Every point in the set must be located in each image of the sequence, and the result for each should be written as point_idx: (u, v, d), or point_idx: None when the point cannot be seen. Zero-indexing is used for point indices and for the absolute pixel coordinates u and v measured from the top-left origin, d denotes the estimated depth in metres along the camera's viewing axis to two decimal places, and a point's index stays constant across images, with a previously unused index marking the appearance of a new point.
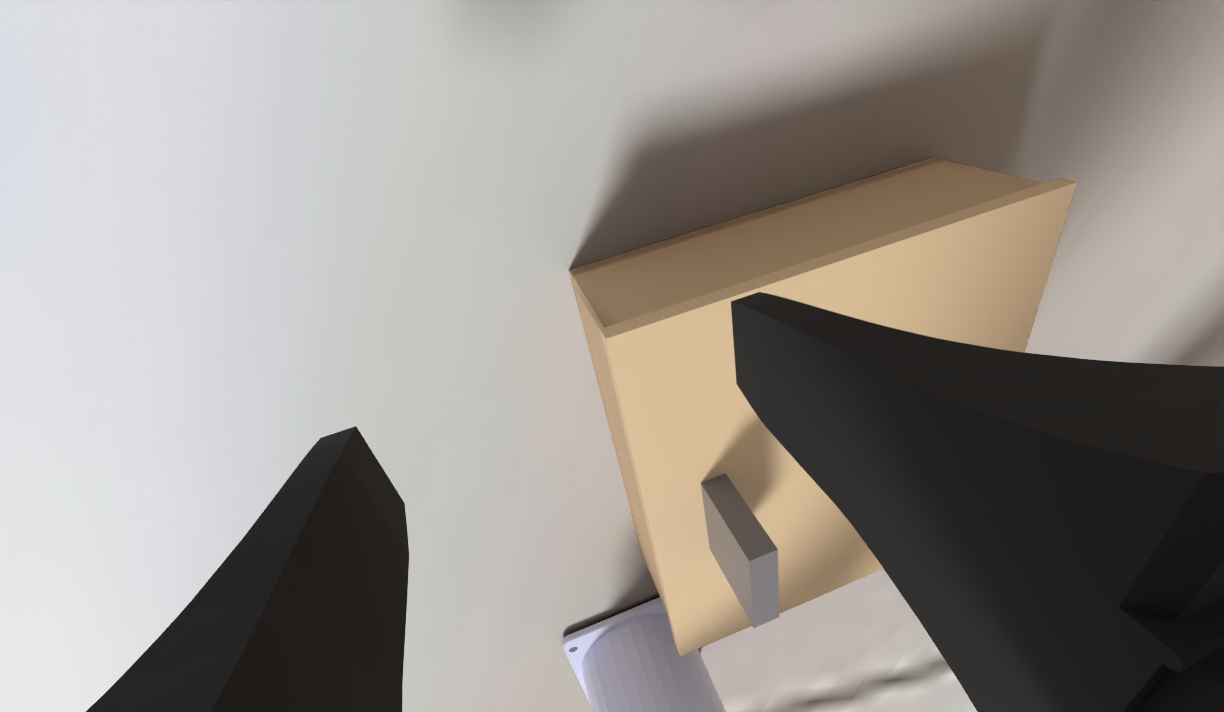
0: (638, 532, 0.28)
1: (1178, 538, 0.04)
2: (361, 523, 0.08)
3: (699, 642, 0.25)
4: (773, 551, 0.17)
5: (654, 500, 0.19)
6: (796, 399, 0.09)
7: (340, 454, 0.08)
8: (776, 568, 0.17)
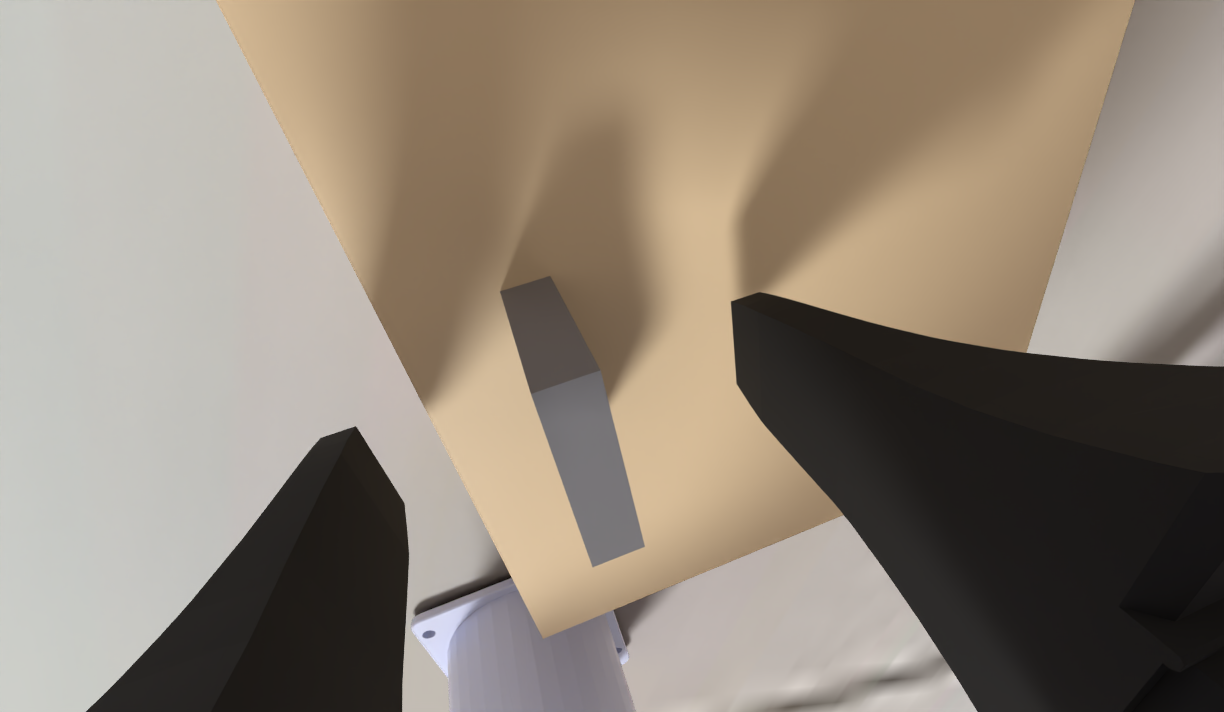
0: None
1: (1178, 538, 0.04)
2: (361, 523, 0.08)
3: (571, 616, 0.16)
4: (590, 375, 0.07)
5: (404, 320, 0.10)
6: (795, 398, 0.09)
7: (340, 454, 0.08)
8: (609, 424, 0.08)
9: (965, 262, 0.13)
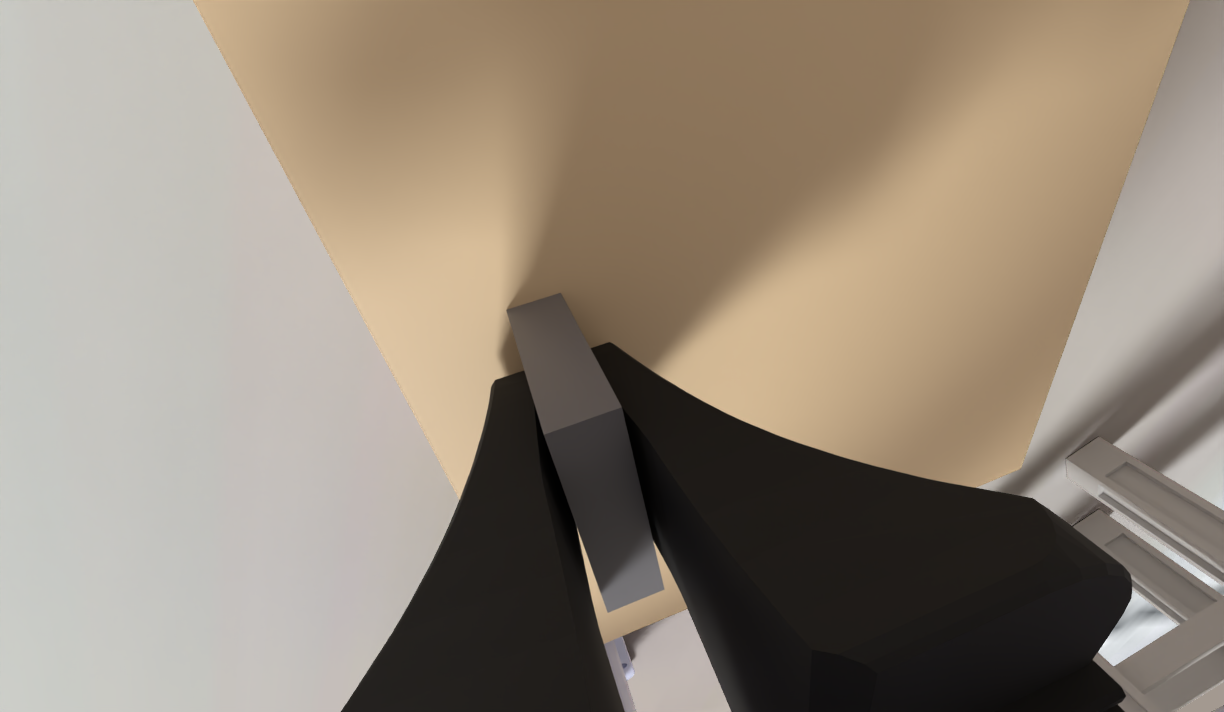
0: None
1: (820, 704, 0.03)
2: None
3: None
4: (610, 412, 0.06)
5: (402, 342, 0.09)
6: None
7: None
8: (630, 464, 0.07)
9: (999, 274, 0.12)
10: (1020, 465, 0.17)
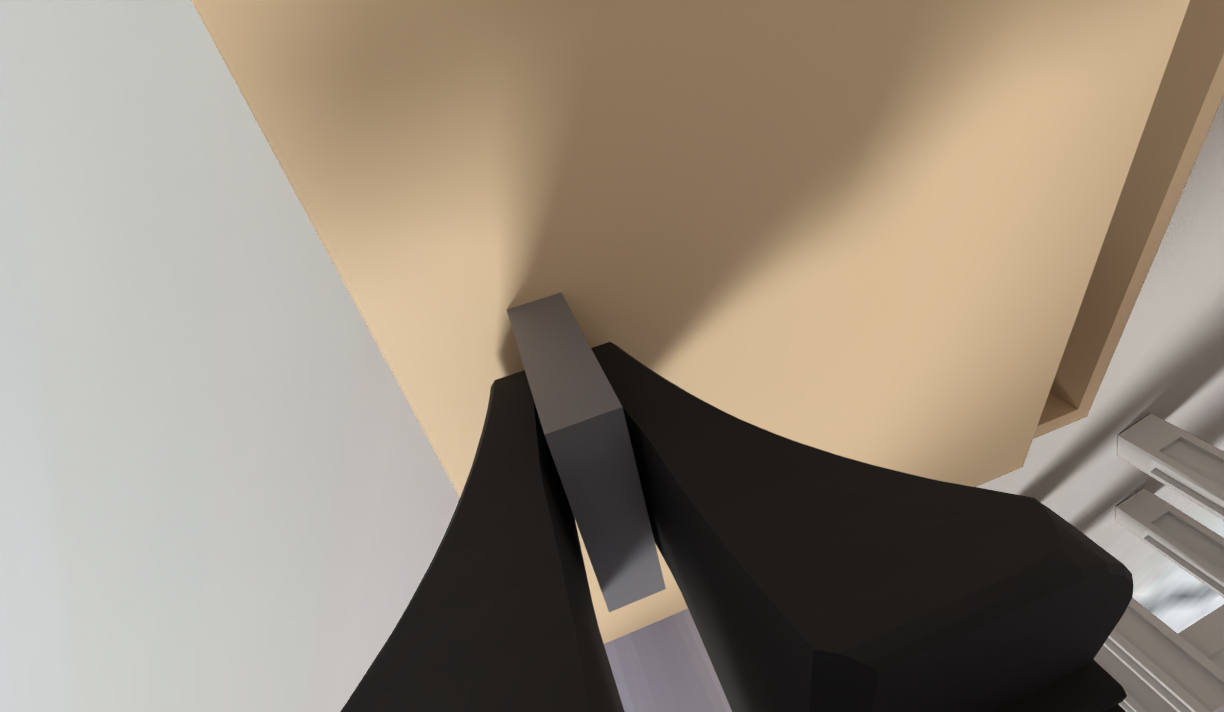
0: None
1: (821, 704, 0.03)
2: (551, 455, 0.08)
3: None
4: (611, 412, 0.06)
5: (402, 342, 0.09)
6: None
7: None
8: (631, 464, 0.07)
9: (1000, 272, 0.12)
10: (1022, 463, 0.17)
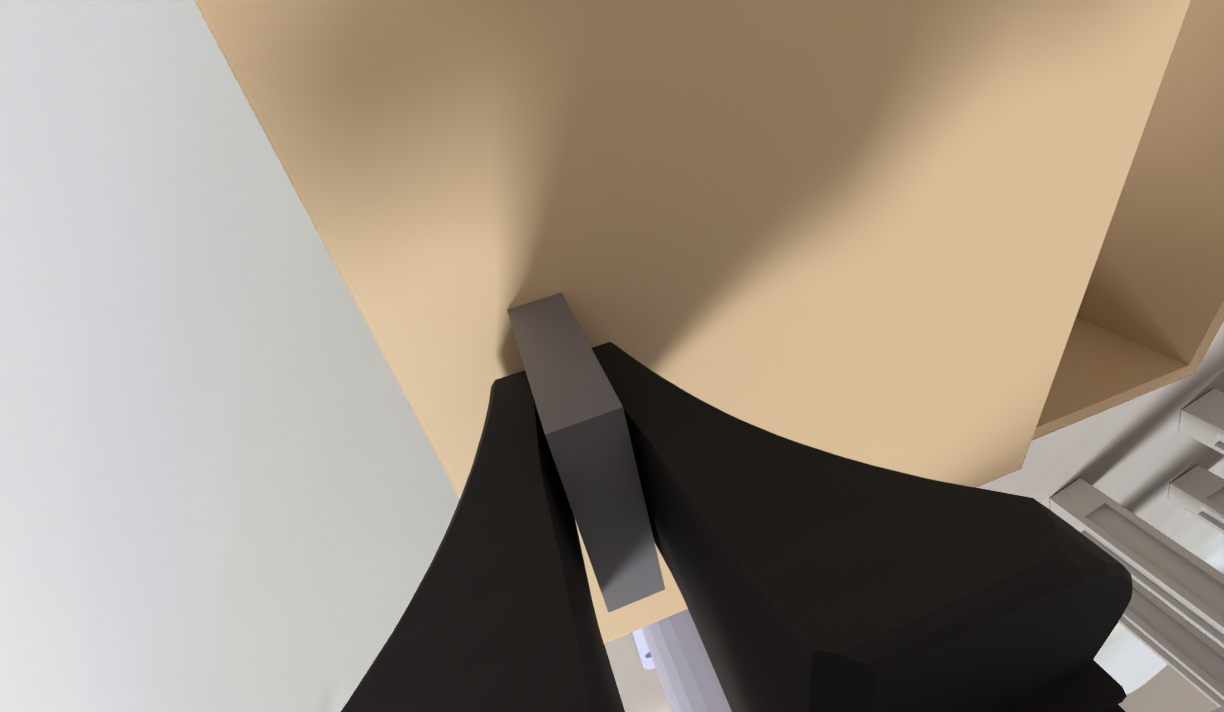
0: None
1: (821, 703, 0.04)
2: (551, 455, 0.08)
3: None
4: (611, 412, 0.06)
5: (402, 342, 0.09)
6: None
7: None
8: (631, 464, 0.07)
9: (1000, 274, 0.12)
10: (1020, 465, 0.17)
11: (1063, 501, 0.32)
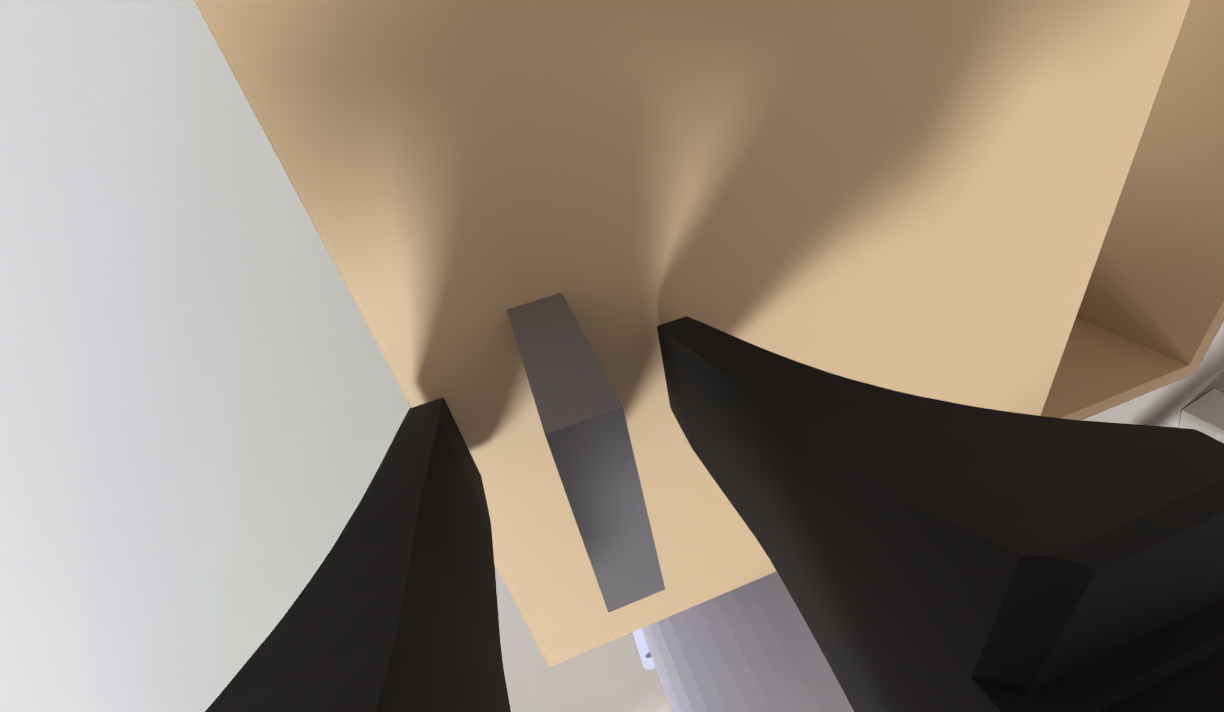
0: None
1: (1010, 615, 0.04)
2: (459, 488, 0.08)
3: (579, 644, 0.15)
4: (611, 412, 0.06)
5: (402, 341, 0.09)
6: (713, 429, 0.09)
7: (439, 420, 0.08)
8: (631, 464, 0.07)
9: (1000, 274, 0.12)
10: None
11: None
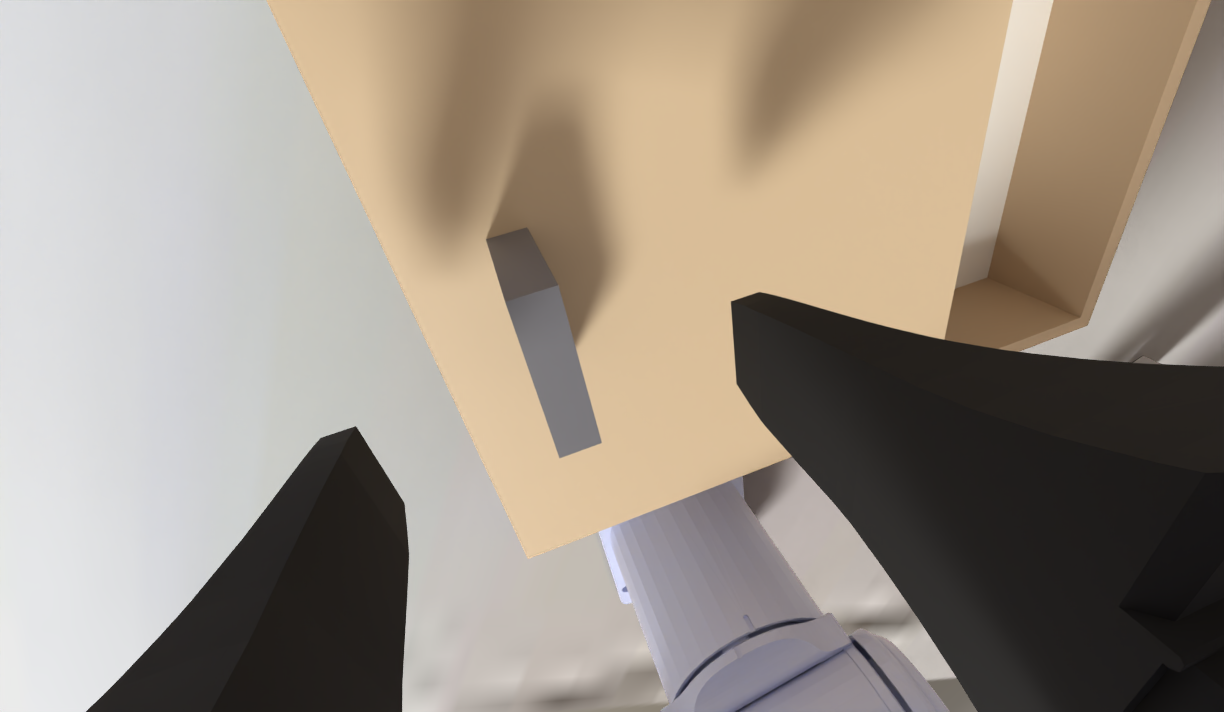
0: None
1: (1178, 537, 0.04)
2: (361, 523, 0.08)
3: (552, 539, 0.18)
4: (551, 288, 0.10)
5: (408, 261, 0.12)
6: (795, 398, 0.09)
7: (340, 454, 0.08)
8: (567, 331, 0.10)
9: (885, 225, 0.15)
10: None
11: None
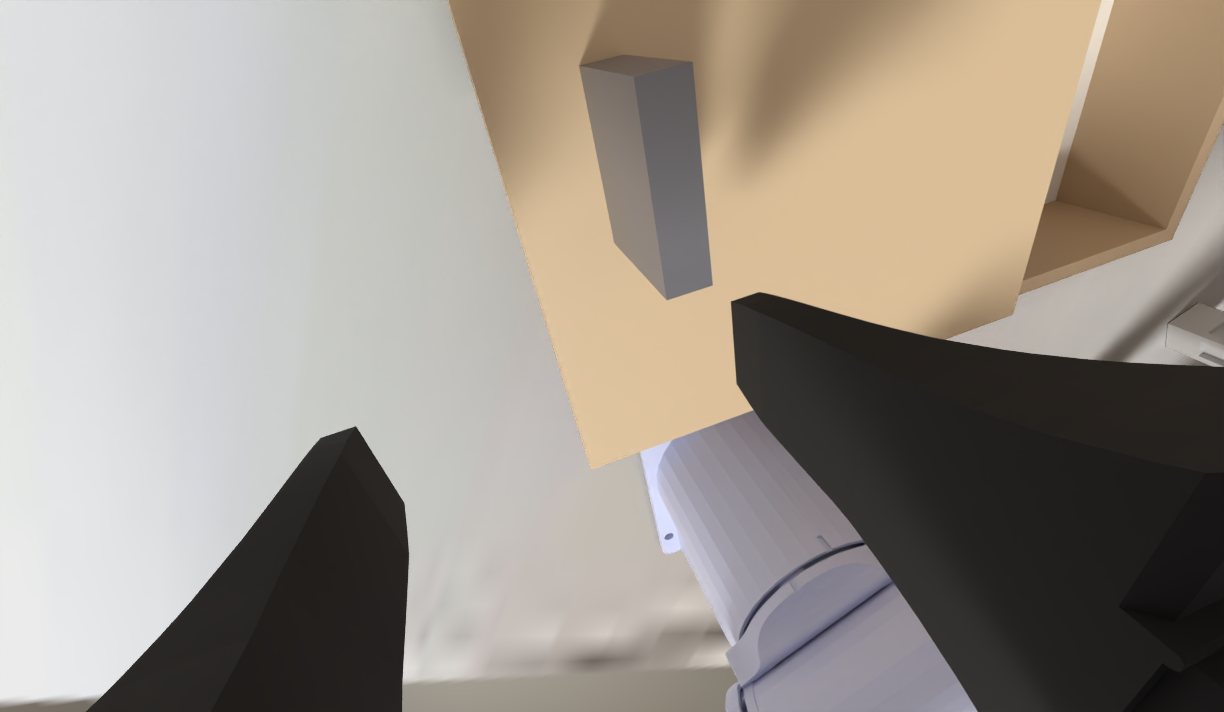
0: None
1: (1178, 537, 0.04)
2: (361, 523, 0.08)
3: (618, 448, 0.17)
4: (684, 66, 0.08)
5: (494, 86, 0.11)
6: (795, 398, 0.09)
7: (340, 454, 0.08)
8: (695, 128, 0.09)
9: (992, 90, 0.14)
10: (1012, 310, 0.19)
11: None
